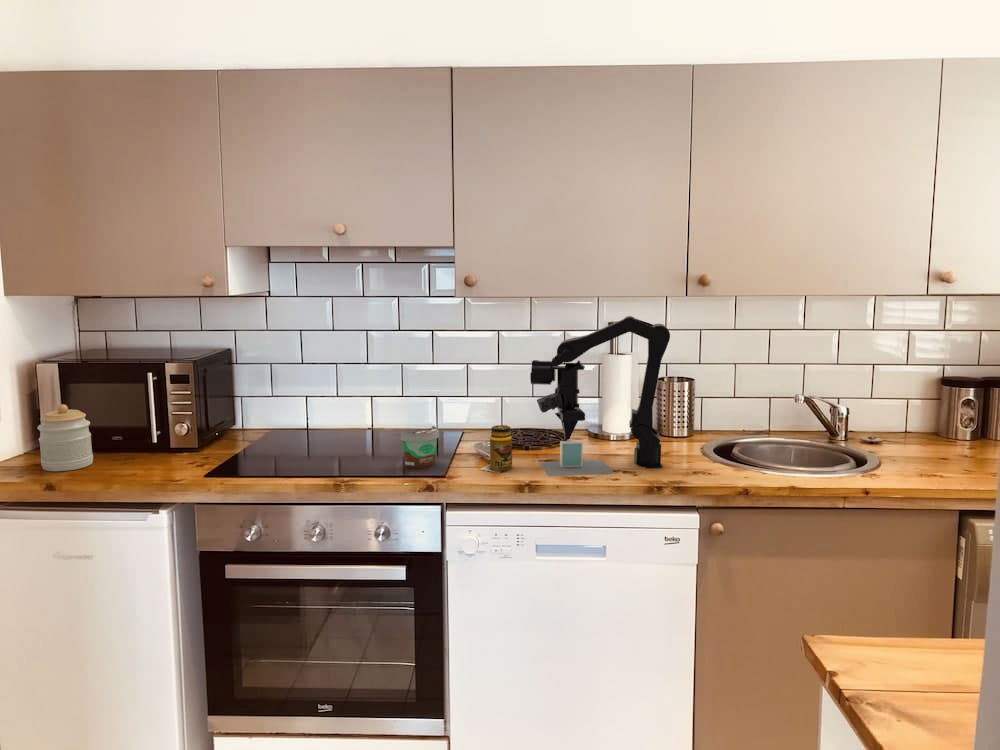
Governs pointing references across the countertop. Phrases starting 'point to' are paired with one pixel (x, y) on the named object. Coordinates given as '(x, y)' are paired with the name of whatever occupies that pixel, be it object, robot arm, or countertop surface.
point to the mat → (576, 468)
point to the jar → (65, 440)
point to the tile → (571, 453)
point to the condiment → (500, 449)
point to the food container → (420, 448)
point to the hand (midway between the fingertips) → (567, 439)
